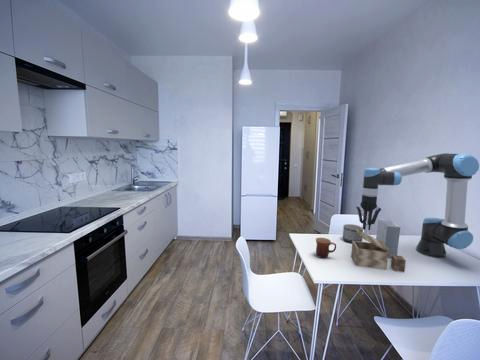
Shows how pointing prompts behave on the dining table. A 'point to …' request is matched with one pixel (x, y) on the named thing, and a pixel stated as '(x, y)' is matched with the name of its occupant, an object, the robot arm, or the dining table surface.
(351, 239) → the planter
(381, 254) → the light wooden box
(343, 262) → the dining table surface
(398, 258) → the walnut block
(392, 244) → the hard drive box
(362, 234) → the lid
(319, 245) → the mug
